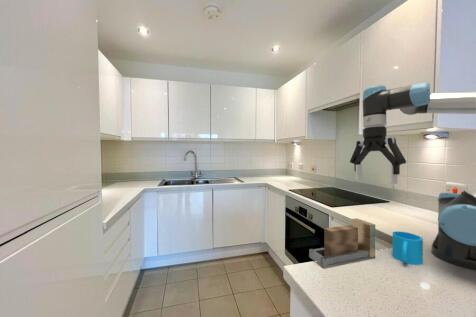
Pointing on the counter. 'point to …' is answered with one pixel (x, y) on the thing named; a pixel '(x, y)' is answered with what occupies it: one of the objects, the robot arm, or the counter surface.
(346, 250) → the door panel
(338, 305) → the counter surface
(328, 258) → the door track
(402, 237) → the mug
